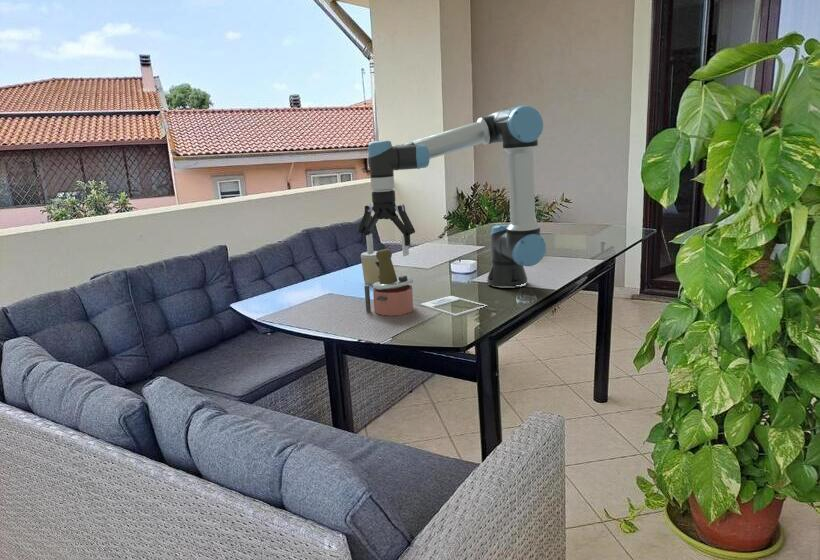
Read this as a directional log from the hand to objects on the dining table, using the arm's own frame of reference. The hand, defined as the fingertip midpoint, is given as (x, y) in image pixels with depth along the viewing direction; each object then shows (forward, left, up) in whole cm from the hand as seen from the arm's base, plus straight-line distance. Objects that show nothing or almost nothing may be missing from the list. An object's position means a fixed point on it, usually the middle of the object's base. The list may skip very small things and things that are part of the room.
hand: (388, 254), depth 190 cm
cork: (0, 0, -9) cm, 10 cm away
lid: (-1, 0, -10) cm, 10 cm away
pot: (-1, 0, -19) cm, 19 cm away
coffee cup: (+26, -31, -19) cm, 44 cm away
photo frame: (-18, -11, -20) cm, 29 cm away
